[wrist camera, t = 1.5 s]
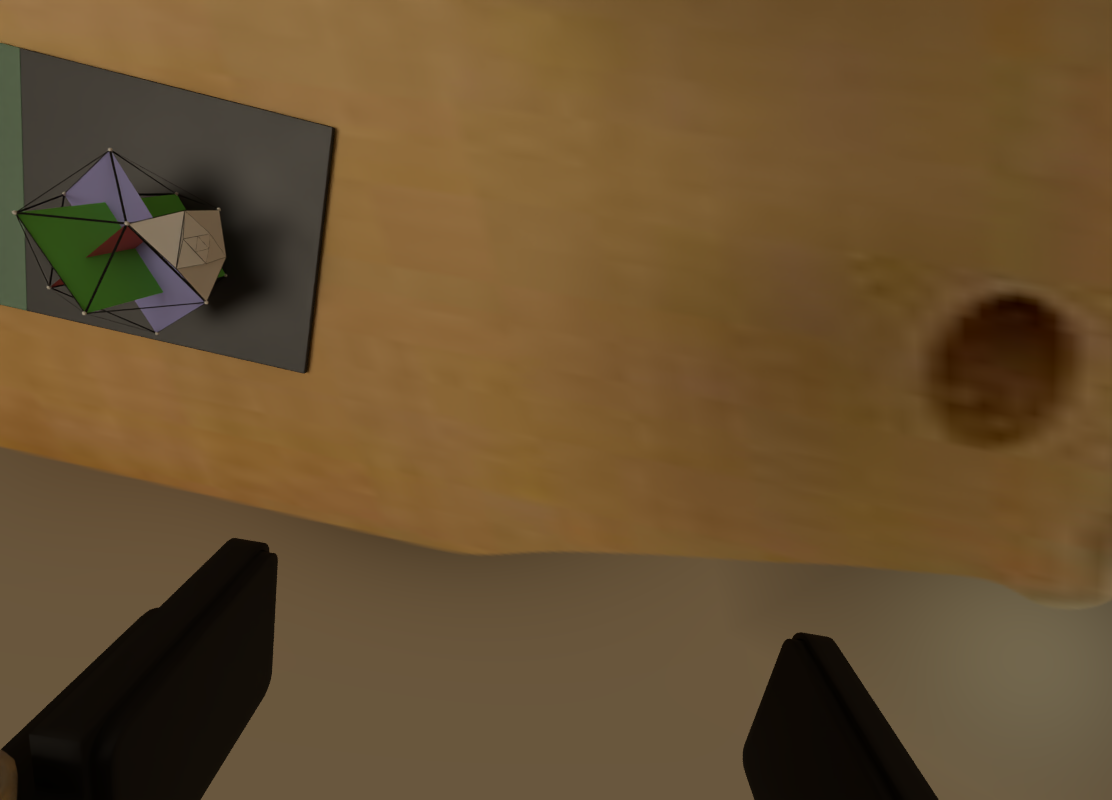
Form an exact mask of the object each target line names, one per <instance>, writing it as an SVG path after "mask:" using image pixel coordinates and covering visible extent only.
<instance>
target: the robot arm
mask: <svg viewBox="0 0 1112 800" xmlns="http://www.w3.org/2000/svg"><path fill="white" fill-rule="evenodd" d="M277 563H278V559H277V555H276V554H275V553H269V547H268V545H267V544H266V543H261V542H256V541H249V540H244V539H237V538H232V539H230V540H229V541H227V542H226V543H225V544H224V545H223V546H222V547H221V548H220V549H219V550H218V551H217V552H216V553H215V554H214V555H213V556H212V557H211V558H210V559H209V560H208V561H207V562H206V563H205V564H204V565H203V566H202V567H201V568H200V569H199V570H197V572H195V573H194V574H193V575H192V576H191V577H190V578H189V579H188V580H187V581H186V582H185V583H184V584H183V585H182V586H181V587H180V588H179V589H178V590H177V591H176V592H175V593H174V594H173V595H172V596H171V597H170V598H169V599H168V600H167V601H166V602H165V603H163V604H162V606H160V607H159V608H154V609H151V610H149V611H148V612H146V613H145V614H144V615H143V616H141V617H140V618H139V619H138V620H137V621H136V622H135V623H134V624H133V625H132V626H131V627H129V628H128V629H127V630H126V631H125V632H124V633H123V634H122V635H121V636H120V637H119V638H118V639H117V640H116V641H115V642H114V643H113V644H112V645H111V646H110V647H108V649H106V650H105V651H104V652H103V653H102V654H101V655H100V656H99V657H98V658H97V659H96V660H95V661H94V662H93V663H91V664H90V665H89V666H88V667H87V668H86V669H85V670H84V671H83V672H82V673H81V674H80V675H79V676H78V677H77V678H76V679H75V680H74V681H73V682H71V683H70V684H69V685H68V686H67V687H66V688H65V689H64V690H63V691H62V692H61V693H60V694H59V695H58V696H57V697H56V698H55V699H54V700H53V701H52V702H50V703H49V704H48V705H47V706H46V707H45V708H44V709H43V710H42V711H41V712H40V713H39V714H38V715H37V716H36V717H35V718H34V719H33V720H31V722H29V723H28V724H27V725H26V726H25V727H24V728H23V729H22V730H21V731H20V732H19V733H18V734H17V735H16V736H15V737H14V738H12V740H10V741H9V742H8V743H7V744H6V745H5V746H4V747H3V748H2V749H1V750H0V800H200V799H201V798H202V796H203V795H204V793H205V791H206V790H207V788H208V787H209V785H210V783H211V781H212V780H213V778H214V777H215V775H216V774H217V772H218V770H219V769H220V767H221V765H222V764H223V762H224V761H225V759H226V757H227V756H228V754H229V753H230V751H231V749H232V748H233V746H234V744H235V743H236V741H237V739H238V738H239V736H240V735H241V733H242V731H243V730H244V728H245V727H246V725H247V723H248V722H249V720H250V718H251V717H252V715H253V714H254V712H255V710H256V709H257V707H258V706H259V704H260V702H261V701H262V699H263V697H264V696H265V693H266V691H267V689H268V686H269V684H270V680H271V675H272V660H273V642H274V623H275V602H276V584H277ZM743 766H744V770H745V773H746V776H747V779H748V782H749V785H750V788H751V790H752V794H753V797H754V800H938V798H937V796H936V795H935V793H934V792H933V790H932V789H931V787H930V786H929V784H928V783H927V781H926V780H925V778H924V777H923V775H922V774H921V772H920V771H919V769H918V768H917V766H916V765H915V763H914V761H913V760H912V758H911V757H910V756H909V754H908V752H907V751H906V749H905V748H904V746H903V745H902V743H901V742H900V740H899V739H898V737H897V736H896V734H895V733H894V731H893V730H892V728H891V726H890V725H889V724H888V722H887V720H886V719H885V717H884V716H883V714H882V713H881V711H880V710H879V708H878V707H877V705H876V704H875V702H874V701H873V699H872V698H871V696H870V695H869V693H868V691H867V690H866V689H865V687H864V685H863V684H862V682H861V681H860V679H859V678H858V676H857V675H856V673H855V672H854V670H853V669H852V667H851V666H850V664H849V663H848V661H847V660H846V658H845V657H844V655H843V653H842V652H841V650H840V649H839V647H838V646H837V644H836V643H835V642H834V641H833V639H831V638H829V637H825V636H819V635H813V634H807V633H796V634H795V635H794V636H793V638H792V639H787V640H785V642H784V643H783V645H782V648H781V651H780V653H779V656H778V658H777V661H776V664H775V667H774V669H773V671H772V674H771V677H770V679H769V682H768V685H767V687H766V690H765V693H764V695H763V698H762V700H761V703H760V706H759V708H758V711H757V713H756V716H755V719H754V721H753V724H752V726H751V729H750V732H749V734H748V737H747V740H746V742H745V745H744V749H743Z"/></svg>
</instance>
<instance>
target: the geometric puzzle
mask: <svg viewBox="0 0 1112 800" xmlns="http://www.w3.org/2000/svg"><path fill="white" fill-rule="evenodd" d="M112 152H113V153H115V154H116V155H118V153H116V152H114V151H113V149H112V148H108V151H107V152H105V153H104V154H102V155H101V156H102V157H101V156H99V157H98V158H100V157H101V158H100V159H99V160H98V161H97V162H96V163H95V164H94V165H93V166H92V167H91V168H90V169H89V170H88V171H87V172H86V173H85V174H84V175H83V176H82V177H81V178H80V179H79V180H78V181H77V182H76V183H75V184H74V185H73V186H72V187H71V188H70V189H68V190H67V191H66V192H63V193H62V195H60V196H57V197H54V198H51V199H49V200H46V201H43V202H41V203H38V204H35V205H33V206H30V207H27V208H25V209H23V208H24V207H26V206H27V205H29V204H30V203H32V202H33V201H35V200H36V199H38V198H39V197H41V196H42V195H44V194H45V193H47V192H48V191H50V190H51V189H53V188H54V187H56V186H57V185H59V184H60V183H62V182H63V181H65V180H66V179H68V178H69V177H71V176H73V175H74V174H76V173H77V172H79V171H80V170H82V169H83V168H85V167H86V166H88V165H89V164H91V163H92V162H94V161H95V160H97V159H98V158H96V159H95V160H93V161H92V162H90V163H89V164H87V165H86V166H84V167H83V168H81V169H80V170H78V171H77V172H75V173H74V174H72V175H71V176H69V177H68V178H66V179H65V180H63V181H62V182H60V183H59V184H57V185H56V186H54V187H53V188H51V189H50V190H48V191H47V192H45V193H43V194H42V195H40V196H39V197H37V198H36V199H34V200H33V201H31V202H30V203H28V204H27V205H25V206H24V207H22V208H21V209H22V210H21V209H19V210H18V211H15V210H13V211H12V214H14V215H16V217H17V219H18V221H19V220H20V221H21V223H22V224H23V226H24V227H25V229H26V230H27V231H28V233H29V234H30V236H31V237H32V239H33V240H34V242H35V243H36V244H37V246H38V247H39V249H40V250H41V252H42V253H43V255H44V256H45V257H46V259H47V260H48V262H49V263H50V265H51V266H52V269H51V275H50V281H49V284H48V282H47V279H46V277H45V275H44V273H43V271H42V269H41V266H40V264H39V262H38V260H37V258H36V255H35V253H34V251H33V249H32V247H31V245H30V242H29V240H28V238H27V236H26V234H25V231H24V229H23V227H22V225H21V223H20V221H19V223H20V225H21V227H22V230H23V232H24V234H25V236H26V238H27V240H28V243H29V245H30V247H31V249H32V251H33V253H34V256H35V258H36V260H37V262H38V264H39V267H40V269H41V271H42V273H43V275H44V277H45V280H46V282H47V284H48V286H47V289H52V290H53V291H54V290H56V289H54V288H56V287H60V286H66V288H67V289H68V291H69V292H70V294H71V295H72V296H70V295H68V294H66V293H63V292H61V291H59V290H56V291H58V292H60V293H63V294H65V295H67V296H70V297H72V298H74V299H75V301H76V302H77V304H78V305H79V306H80V308H81V309H82V314H83V315H89V314H92V313H103V312H107V313H109V314H112V313H110V312H114V311H125V310H136V309H141V311H142V312H143V314H144V315H145V317H146V318H147V320H148V321H149V323H150V324H151V326H152V327H153V329H154V331H152V330H150V329H147V328H145V327H143V326H140V325H138V324H136V323H133V322H131V321H129V320H126V319H124V318H122V317H119V316H117V315H115V314H112V315H114V316H116V317H119V318H121V319H123V320H126V321H128V322H130V323H133V324H135V325H137V326H140V327H142V328H145V329H147V330H149V332H151V331H152V332H153V333H155V334H156V335H159V332H160V331H161V330H163V329H165V328H166V327H168V326H169V325H171V324H173V323H174V322H176V321H178V320H179V319H181V318H182V317H184V316H186V315H187V314H189V313H191V312H192V311H194V310H195V309H197V308H199V307H200V306H202V305H204V304H208V300H209V299H210V298H209V296H210V294H211V291H212V289H213V287H214V285H215V284H217V283H218V282H219V281H220V280H221V279H224V278H225V277H227V274H226V268H225V272H224V270H223V268H222V267H223V264H225V260H226V258H227V256H226V250H225V243H224V236H223V230H222V223H221V217H220V211H221V209H220V208H216V207H214V206H213V207H212V205H211V206H209V205H210V204H209V205H206V204H204V203H201V202H198V201H195V200H193V199H190V198H187V197H184V196H182V195H179V194H178V193H177V192H173V191H172V190H170V189H169V188H167V187H166V186H164V185H163V184H161V183H160V182H158V181H157V180H155V179H154V178H152V177H151V176H149V175H148V174H146V173H145V172H143V171H142V170H140V169H139V168H137V167H136V166H135V165H133V164H132V163H130V162H129V161H130V160H129V159H128V160H129V161H127V160H126V159H127V158H126V159H124V158H125V157H124V158H123V156H122V157H121V155H120V154H119V155H118V156H119V157H121V158H122V159H124V160H125V161H126V162H128V163H129V164H131V165H132V166H134V167H135V168H137V169H138V170H140V171H141V172H143V173H144V174H146V175H147V176H149V177H150V178H152V179H153V180H155V181H156V182H158V183H159V184H161V185H162V186H164V187H165V188H167V189H168V190H170V191H171V192H173V193H137V191H136V190H135V188H134V187H133V185H132V183H131V182H130V180H129V179H128V177H127V175H126V174H125V172H124V171H123V169H122V167H121V166H120V164H119V163H118V161H117V159H116V158H115V156H114V155H113V153H112ZM131 162H132V161H131ZM133 163H134V162H133ZM135 164H136V163H135ZM137 165H138V164H137ZM140 167H141V166H140ZM142 168H143V167H142ZM144 169H145V168H144ZM146 170H147V169H146ZM148 171H149V170H148ZM149 172H150V171H149ZM151 173H152V172H151ZM153 174H154V173H153ZM155 175H156V174H155ZM157 176H158V175H157ZM158 177H159V176H158ZM160 178H161V177H160ZM162 179H163V178H162ZM164 180H165V179H164ZM166 181H167V180H166ZM169 183H170V182H169ZM171 184H172V183H171ZM173 185H174V184H173ZM175 186H176V185H175ZM177 187H178V186H177ZM178 188H179V187H178ZM180 189H181V188H180ZM182 190H183V189H182ZM184 191H185V190H184ZM186 192H187V191H186ZM189 194H190V193H189ZM191 195H192V194H191ZM62 196H63V200H62V206H61V207H59V208H50V209H42V210H33V211H25V210H28V209H30V208H33V207H36V206H38V205H41V204H43V203H46V202H49V201H51V200H54V199H57V198H59V197H62ZM140 196H155V197H146V198H140ZM179 196H181V197H184V198H186V199H189V200H192V201H195V202H197V203H200V204H203V205H206V206H208V207H211V208H214V209H216V210H187V209H186V208H185V206H184V205H183V203H182V201H181V200H180V198H179ZM193 196H194V195H193ZM65 197H66V198H67V199H68V201H69V202H70V204H71V205H72V206H68V207H63V205H64V199H65ZM195 197H196V196H195ZM197 198H198V197H197ZM198 199H199V198H198ZM200 200H201V199H200ZM202 201H203V200H202ZM204 202H205V201H204ZM206 203H207V202H206ZM207 204H208V203H207ZM22 211H24V212H22ZM53 269H54V270H55V272H56V273H57V275H58V276H59V278H60V279H59V280H58V281H57V282H55V283H54V284H53V285H52V286H51V281H52V275H53ZM222 276H223V277H222ZM218 277H222V278H221V279H220V280H218V281H217V282H216V280H217V278H218ZM215 282H216V283H215ZM221 282H222V281H221ZM221 282H220V283H221ZM219 285H220V284H219ZM219 285H218V286H219ZM216 289H217V288H216ZM216 289H215V290H216ZM54 292H55V291H54ZM214 292H215V291H214ZM214 292H213V293H214ZM56 293H57V292H56ZM213 293H212V294H213ZM57 294H58V293H57ZM60 296H61V295H60ZM211 296H212V295H211ZM211 296H210V297H211ZM61 297H62V296H61ZM208 298H209V299H208ZM64 299H65V298H64ZM65 300H66V299H65ZM134 300H135V302H136V303H137V305H138V306H139V308H133V309H122V310H110V311H105V310H103V309H104V308H108V307H112V306H115V305H119V304H123V303H126V302H130V301H134ZM67 301H68V300H67ZM68 302H69V301H68ZM69 303H70V302H69ZM71 304H72V303H71ZM72 305H73V304H72ZM75 307H76V306H75ZM76 308H77V307H76ZM79 310H80V309H79ZM97 310H102V311H99V312H93V311H97ZM80 311H81V310H80ZM91 316H93V315H91ZM95 317H96V316H95ZM98 318H100V317H98ZM102 319H104V318H102ZM106 320H107V319H106ZM109 321H111V320H109ZM113 322H115V321H113ZM117 323H118V322H117ZM120 324H122V323H120ZM124 325H126V324H124ZM127 326H129V325H127ZM131 327H133V326H131ZM135 328H136V327H135ZM138 329H140V328H138ZM142 330H144V329H142ZM147 330H146V331H147Z"/></svg>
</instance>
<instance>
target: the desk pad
mask: <svg viewBox="0 0 1112 800" xmlns="http://www.w3.org/2000/svg"><path fill="white" fill-rule="evenodd" d="M334 132H335V128H333V127H330V126H326V125H322V124H318V123H314V122H310V121H306V120H302V119H299V118H295V117H291V116H287V115H283V114H279V113H275V112H271V111H267V110H263V109H259V108H255V107H251V106H247V105H243V104H239V103H235V102H231V101H228V100H224V99H220V98H216V97H212V96H208V95H204V94H200V93H196V92H192V91H188V90H184V89H180V88H176V87H172V86H168V85H164V84H160V83H157V82H153V81H149V80H145V79H141V78H137V77H133V76H129V75H125V74H121V73H117V72H113V71H109V70H105V69H101V68H97V67H93V66H89V65H86V64H82V63H78V62H74V61H70V60H66V59H62V58H58V57H54V56H50V55H46V54H42V53H38V52H34V51H30V50H26V49H22V48H18V47H15V46H11V45H7V44H3V43H0V305H5V306H9V307H14V308H18V309H22V310H27V311H31V312H36V313H40V314H44V315H49V316H53V317H58V318H62V319H66V320H71V321H75V322H80V323H84V324H88V325H93V326H97V327H102V328H106V329H110V330H115V331H119V332H124V333H128V334H132V335H137V336H141V337H146V338H150V339H155V340H159V341H163V342H168V343H172V344H177V345H181V346H185V347H190V348H194V349H199V350H203V351H207V352H212V353H216V354H221V355H225V356H229V357H234V358H238V359H243V360H247V361H251V362H256V363H260V364H265V365H269V366H273V367H278V368H282V369H287V370H291V371H295V372H300V373H306V372H307V365H308V356H309V347H310V339H311V330H312V322H313V313H314V304H315V296H316V287H317V279H318V270H319V261H320V253H321V244H322V236H323V227H324V218H325V210H326V201H327V193H328V184H329V175H330V167H331V158H332V149H333V141H334ZM108 148H112V149H113V151H114V152H116V153H118V155H119V154H120V155H121V157H122V156H123V158H124V157H125V158H124V159H126V158H127V159H126V160H127V161H129V160H130V161H129V162H130V163H132V164H133V165H135V166H136V167H137V168H139V169H140V170H142V171H143V172H145V173H146V174H148V175H149V176H151V177H152V178H154V179H155V180H157V181H158V182H160V183H161V184H163V185H164V186H166V187H167V188H169V189H170V190H172V191H173V192H177V193H178V194H179V195H182V196H184V197H187V198H190V199H193V200H195V201H198V202H201V203H204V204H206V205H209V204H210V205H209V206H211V205H212V207H213V206H214V207H216V208H220V209H221V211H220V217H221V223H222V230H223V236H224V243H225V250H226V256H227V258H226V260H225V264H223V267H222V268H223V270H224V272H225V268H226V274H227V277H225V278H224V279H221V278H222V277H223V276H222V277H218V278H217V280H216V282H217V281H218V280H220V279H221V280H220V281H219V282H218V283H217V284H215V285H214V287H213V289H212V291H211V294H210V296H211V295H212V296H211V297H210V296H209V298H210V299H209V298H208V299H209V300H208V304H204V305H202V306H200V307H199V308H197V309H195V310H194V311H192V312H191V313H189V314H187V315H186V316H184V317H182V318H181V319H179V320H178V321H176V322H174V323H173V324H171V325H169V326H168V327H166V328H165V329H163V330H161V331H160V332H159V335H156V334H155V333H153V332H152V331H154V329H153V327H152V326H151V324H150V323H149V321H148V320H147V318H146V317H145V315H144V314H143V312H142V311H141V309H136V310H125V311H114V312H110V313H112V314H115V315H117V316H119V317H122V318H124V319H126V320H129V321H131V322H133V323H136V324H138V325H140V326H143V327H145V328H147V329H150V330H152V331H151V332H149V330H147V329H145V328H142V327H140V326H137V325H135V324H133V323H130V322H128V321H126V320H123V319H121V318H119V317H116V316H114V315H112V314H109V313H107V312H103V313H92V314H89V315H83V314H82V309H81V308H80V306H79V305H78V304H77V302H76V301H75V299H74V298H72V297H70V296H72V295H71V294H70V292H69V291H68V289H67V288H66V286H60V287H56V288H54V289H56V290H59V291H61V292H63V293H66V294H68V295H70V296H67V295H65V294H63V293H60V292H58V291H56V290H54V291H55V292H54V291H53V290H52V289H47V286H48V284H49V281H50V275H51V269H52V266H51V265H50V263H49V262H48V260H47V259H46V257H45V256H44V255H43V253H42V252H41V250H40V249H39V247H38V246H37V244H36V243H35V242H34V240H33V239H32V237H31V236H30V234H29V233H28V231H27V230H26V229H25V227H24V226H23V224H22V223H21V221H20V220H19V221H20V223H21V225H22V227H23V229H24V231H25V234H26V236H27V238H28V240H29V242H30V245H31V247H32V249H33V251H34V253H35V255H36V258H37V260H38V262H39V264H40V266H41V269H42V271H43V273H44V275H45V277H46V279H47V282H48V284H47V282H46V280H45V277H44V275H43V273H42V271H41V269H40V267H39V264H38V262H37V260H36V258H35V256H34V253H33V251H32V249H31V247H30V245H29V243H28V240H27V238H26V236H25V234H24V232H23V230H22V227H21V225H20V223H19V221H18V219H17V217H16V215H14V214H12V211H13V210H15V211H18V210H19V209H21V208H22V207H24V206H25V205H27V204H28V203H30V202H31V201H33V200H34V199H36V198H37V197H39V196H40V195H42V194H43V193H45V192H47V191H48V190H50V189H51V188H53V187H54V186H56V185H57V184H59V183H60V182H62V181H63V180H65V179H66V178H68V177H69V176H71V175H72V174H74V173H75V172H77V171H78V170H80V169H81V168H83V167H84V166H86V165H87V164H89V163H90V162H92V161H93V160H95V159H96V158H98V157H99V156H101V155H102V154H104V153H105V152H107V151H108ZM112 153H113V152H112ZM113 155H114V156H115V158H116V159H117V161H118V163H119V164H120V166H121V167H122V169H123V171H124V172H125V174H126V175H127V177H128V179H129V180H130V182H131V183H132V185H133V187H134V188H135V190H136V191H137V193H173V192H171V191H170V190H168V189H167V188H165V187H164V186H162V185H161V184H159V183H158V182H156V181H155V180H153V179H152V178H150V177H149V176H147V175H146V174H144V173H143V172H141V171H140V170H138V169H137V168H135V167H134V166H132V165H131V164H129V163H128V162H126V161H125V160H124V159H122V158H121V157H119V156H118V155H116V154H115V153H113ZM101 157H102V156H101ZM101 157H100V158H101ZM100 158H98V159H97V160H95V161H94V162H92V163H91V164H89V165H88V166H86V167H85V168H83V169H82V170H80V171H79V172H77V173H76V174H74V175H73V176H71V177H69V178H68V179H66V180H65V181H63V182H62V183H60V184H59V185H57V186H56V187H54V188H53V189H51V190H50V191H48V192H47V193H45V194H44V195H42V196H41V197H39V198H38V199H36V200H35V201H33V202H32V203H30V204H29V205H27V206H26V207H24V208H23V209H25V208H27V207H30V206H33V205H35V204H38V203H41V202H43V201H46V200H49V199H51V198H54V197H57V196H60V195H62V193H63V192H66V191H67V190H68V189H70V188H71V187H72V186H73V185H74V184H75V183H76V182H77V181H78V180H79V179H80V178H81V177H82V176H83V175H84V174H85V173H86V172H87V171H88V170H89V169H90V168H91V167H92V166H93V165H94V164H95V163H96V162H97V161H98V160H99V159H100ZM128 159H129V160H128ZM131 161H132V162H131ZM133 162H134V163H133ZM135 163H136V164H135ZM137 164H138V165H137ZM140 166H141V167H140ZM142 167H143V168H142ZM144 168H145V169H144ZM146 169H147V170H146ZM148 170H149V171H150V172H149V171H148ZM151 172H152V173H151ZM153 173H154V174H153ZM155 174H156V175H155ZM157 175H158V176H159V177H158V176H157ZM160 177H161V178H160ZM162 178H163V179H162ZM164 179H165V180H164ZM166 180H167V181H166ZM169 182H170V183H169ZM171 183H172V184H171ZM173 184H174V185H173ZM175 185H176V186H175ZM177 186H178V187H179V188H178V187H177ZM180 188H181V189H180ZM182 189H183V190H182ZM184 190H185V191H184ZM186 191H187V192H186ZM189 193H190V194H189ZM191 194H192V195H191ZM193 195H194V196H193ZM195 196H196V197H195ZM146 197H155V196H140V198H146ZM184 197H181V196H179V198H180V200H181V201H182V203H183V205H184V206H185V208H186V209H187V210H216V209H214V208H211V207H208V206H206V205H203V204H200V203H197V202H195V201H192V200H189V199H186V198H184ZM197 197H198V198H199V199H198V198H197ZM200 199H201V200H200ZM62 200H63V196H62V197H59V198H57V199H54V200H51V201H49V202H46V203H43V204H41V205H38V206H36V207H33V208H30V209H28V210H25V211H33V210H42V209H50V208H59V207H61V206H62ZM202 200H203V201H202ZM204 201H205V202H204ZM206 202H207V203H208V204H207V203H206ZM68 206H72V205H71V204H70V202H69V201H68V199H67V198H66V197H65V199H64V205H63V207H68ZM21 210H22V209H21ZM22 212H24V211H22ZM59 279H60V278H59V276H58V275H57V273H56V272H55V270H54V269H53V275H52V281H51V286H52V285H53V284H54V283H55V282H57V281H58V280H59ZM221 281H222V282H221ZM216 282H215V283H216ZM220 282H221V283H220ZM219 284H220V285H219ZM218 285H219V286H218ZM216 288H217V289H216ZM215 289H216V290H215ZM214 291H215V292H214ZM56 292H57V293H58V294H57V293H56ZM213 292H214V293H213ZM212 293H213V294H212ZM60 295H61V296H62V297H61V296H60ZM64 298H65V299H66V300H65V299H64ZM67 300H68V301H69V302H70V303H69V302H68V301H67ZM71 303H72V304H73V305H72V304H71ZM75 306H76V307H77V308H76V307H75ZM133 308H139V306H138V305H137V303H136V302H135V300H134V301H130V302H126V303H123V304H119V305H115V306H112V307H108V308H104V309H103V310H105V311H110V310H122V309H133ZM79 309H80V310H81V311H80V310H79ZM99 311H102V310H97V311H93V312H99ZM91 315H93V316H91ZM95 316H96V317H95ZM98 317H100V318H98ZM102 318H104V319H102ZM106 319H107V320H106ZM109 320H111V321H109ZM113 321H115V322H113ZM117 322H118V323H117ZM120 323H122V324H120ZM124 324H126V325H124ZM127 325H129V326H127ZM131 326H133V327H131ZM135 327H136V328H135ZM138 328H140V329H138ZM142 329H144V330H142ZM146 330H147V331H146Z"/></svg>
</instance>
